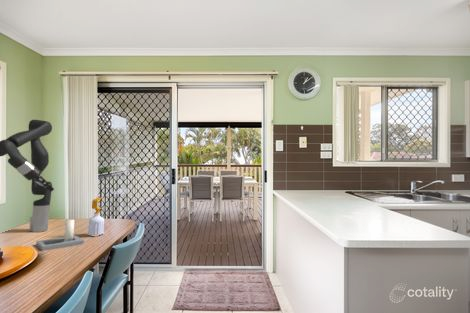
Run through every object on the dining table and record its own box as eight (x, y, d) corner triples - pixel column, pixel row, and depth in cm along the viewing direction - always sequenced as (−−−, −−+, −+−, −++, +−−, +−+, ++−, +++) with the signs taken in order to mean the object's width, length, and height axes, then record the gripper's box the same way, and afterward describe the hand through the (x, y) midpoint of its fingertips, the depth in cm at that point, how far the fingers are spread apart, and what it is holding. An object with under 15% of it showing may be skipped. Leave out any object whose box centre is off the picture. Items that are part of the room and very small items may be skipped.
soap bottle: (106, 234, 174) (108, 197, 175) (95, 237, 165) (98, 199, 166) (95, 232, 176) (98, 196, 177) (84, 235, 168) (87, 198, 169)
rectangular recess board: (42, 250, 136) (42, 247, 137) (36, 244, 146) (36, 241, 146) (83, 243, 151) (84, 240, 151) (75, 238, 161) (76, 235, 161)
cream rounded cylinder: (62, 243, 149) (64, 220, 150) (66, 241, 154) (68, 219, 154) (70, 243, 150) (71, 221, 150) (74, 241, 154) (76, 219, 155)
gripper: (37, 166, 144) (59, 186, 152) (31, 165, 153) (53, 184, 161) (24, 175, 140) (48, 195, 148) (19, 174, 149) (42, 193, 157)
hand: (50, 189), depth 155 cm, fingers open, 8 cm apart
